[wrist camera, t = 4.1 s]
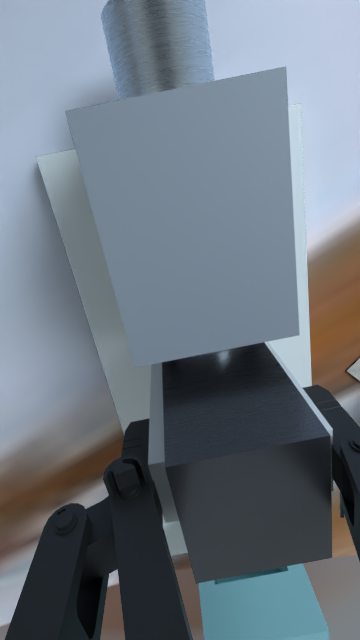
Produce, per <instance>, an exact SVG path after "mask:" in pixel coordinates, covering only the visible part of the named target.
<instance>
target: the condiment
mask: <svg viewBox="0 0 360 640" xmlns="http://www.w3.org/2000/svg"><path fill="white" fill-rule="evenodd" d="M347 372H349V373H350V374H351V375H353V376H354V377H355V378H356V379H358V380H359V381H360V358H359V360H358V361H356V362H355V363H354V364H353V365H352V366H351V367H350V368H349V369H348V370H347Z"/></svg>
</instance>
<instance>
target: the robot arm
mask: <svg viewBox="0 0 360 640" xmlns="http://www.w3.org/2000/svg"><path fill="white" fill-rule="evenodd" d="M264 343H265V344H266V345H267V347H268V348H269V350H270V351H271V352H272V354H273V355H274V357H275V358H276V359H277V361H278V362H279V364H280V365H281V366H282V368H283V369H284V371H285V372H286V374H287V375H288V376H289V378H290V379H291V381H292V382H293V383H294V385H295V386H296V388H297V389H298V390H299V392H300V393H301V395H302V396H303V397H304V399H305V400H306V402H307V403H308V404H309V406H310V407H311V409H312V410H313V411H314V413H315V414H316V416H317V417H318V418H319V420H320V421H321V423H322V424H323V426H324V427H325V428H326V430H327V431H328V433H329V434H330V435H331V491H333V479H334V481H335V483H336V484H337V486H338V488H339V489H340V517H343V518H344V514H345V517H346V520H347V523H348V526H349V530H350V533H351V536H352V539H353V542H354V545H355V548H356V551H357V554H358V557H359V560H360V427H359V426H358V425H357V424H356V423H355V421H354V420H353V419H352V418H351V417H350V416H349V414H348V413H347V412H346V411H345V410H344V409H343V407H341V405H340V404H339V403H338V402H337V400H335V398H334V397H333V396H332V395H331V393H330V392H329V391H328V390H326V389H324V388H322V387H321V386H319V385H314V386H309V387H304V388H302V387H301V385H300V384H299V383H298V381H297V380H296V379H295V377H294V376H293V375H292V373H291V372H290V371H289V369H288V368H287V367H286V365H285V364H284V362H283V361H282V360H281V358H280V357H279V356H278V354H277V353H276V352H275V350H274V349H273V348H272V346H271V345H270V344H269V342H264ZM103 480H104V483H105V485H106V488H107V491H108V493H109V496H108V497H107V498H106V499H104V500H103V501H101V502H99V503H97V504H95V505H93V506H91V507H89V508H87V509H85V508H84V506H82V505H80V504H78V503H71V504H68V505H65V506H63V507H61V508H60V509H58V510H57V511H55V512H54V513H53V514H52V516H51V517H50V518H49V519H48V521H47V523H46V525H45V526H44V529H43V532H42V535H41V538H40V541H39V543H38V546H37V549H36V552H35V555H34V558H33V561H32V563H31V566H30V569H29V572H28V575H27V578H26V581H25V583H24V586H23V589H22V592H21V595H20V598H19V600H18V603H17V606H16V609H15V612H14V615H13V618H12V620H11V623H10V626H9V629H8V632H7V635H6V638H5V640H100V635H101V628H102V620H103V614H104V606H105V599H106V592H107V585H108V578H109V573H111V572H113V571H115V570H116V569H118V575H119V584H120V594H121V603H122V611H123V621H124V630H125V640H193V638H192V635H191V631H190V627H189V623H188V619H187V615H186V612H185V608H184V604H183V600H182V596H181V593H180V589H179V586H178V581H177V577H176V574H175V570H174V566H173V562H172V558H171V555H170V551H169V547H168V543H167V540H166V536H165V532H164V529H163V518H164V521H165V523H169V522H174V521H179V518H178V514H177V511H176V507H175V503H174V499H173V496H172V492H171V488H170V485H169V481H168V477H167V474H166V470H165V454H164V418H163V383H162V362H161V363H156V364H151V389H150V418H149V419H144V420H139V421H134V422H130V424H129V426H128V427H127V429H126V430H125V434H124V443H123V451H122V456H121V458H119V459H117V460H115V461H113V462H112V463H111V464H110V465H109V466H108V467H107V469H106V471H105V472H104V478H103Z"/></svg>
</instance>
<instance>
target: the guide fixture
mask: <svg viewBox="0 0 360 640" xmlns="http://www.w3.org/2000/svg"><path fill="white" fill-rule="evenodd" d="M65 113H66V117H67V120H68V124H69V128H70V131H71V135H72V139H73V142H74V146H75V149H71V150H66V151H61V152H56V153H52V154H47V155H42V156H37V157H36V159H37V162H38V165H39V169H40V172H41V175H42V178H43V181H44V184H45V187H46V191H47V194H48V197H49V200H50V203H51V206H52V210H53V213H54V216H55V219H56V222H57V225H58V228H59V232H60V235H61V238H62V241H63V244H64V247H65V251H66V254H67V257H68V260H69V263H70V266H71V269H72V273H73V276H74V279H75V282H76V285H77V288H78V291H79V295H80V298H81V301H82V304H83V307H84V310H85V314H86V317H87V320H88V323H89V326H90V329H91V332H92V336H93V339H94V342H95V345H96V348H97V351H98V355H99V358H100V361H101V364H102V367H103V370H104V373H105V377H106V380H107V383H108V386H109V389H110V392H111V396H112V399H113V402H114V405H115V408H116V411H117V414H118V418H119V421H120V424H121V427H122V430H123V433H124V434H125V430H126V429H127V427H128V426H129V424H130V422H134V421H139V420H144V419H149V418H150V389H151V364H156V363H161V362H166V361H171V360H176V359H181V358H186V357H191V356H196V355H202V354H207V353H212V352H217V351H222V350H227V349H232V348H237V347H242V346H247V345H252V344H258V343H263V342H269V344H270V345H271V346H272V348H273V349H274V350H275V352H276V353H277V354H278V356H279V357H280V358H281V360H282V361H283V362H284V364H285V365H286V367H287V368H288V369H289V371H290V372H291V373H292V375H293V376H294V377H295V379H296V380H297V381H298V383H299V384H300V385H301V387H302V388H304V387H309V386H312V382H311V356H310V329H309V302H308V275H307V249H306V222H305V195H304V168H303V141H302V115H301V103H299V104H294V105H289V106H288V95H287V76H286V67H281V68H276V69H271V70H266V71H261V72H256V73H251V74H246V75H241V76H237V77H232V78H227V79H222V80H217V81H212V82H207V83H202V84H197V85H192V86H187V87H182V88H177V89H172V90H167V91H163V92H158V93H153V94H148V95H143V96H138V97H133V98H128V99H123V100H118V101H113V102H108V103H103V104H98V105H93V106H89V107H84V108H79V109H74V110H69V111H65ZM163 529H164V532H165V536H166V540H167V543H168V547H169V551H170V555H171V556H173V555H179V554H184V553H188V551H187V548H186V544H185V540H184V537H183V533H182V529H181V525H180V522H179V521H174V522H169V523H165V521H164V518H163ZM198 584H199V593H200V602H201V611H202V621H203V631H204V640H329V629H328V627H327V624H326V622H325V619H324V616H323V614H322V611H321V609H320V606H319V604H318V601H317V599H316V596H315V594H314V591H313V589H312V586H311V583H310V581H309V578H308V576H307V574H306V570H305V568H304V566H303V563H301V564H296V565H291V566H286V567H280V568H275V569H270V570H265V571H260V572H254V573H249V574H244V575H239V576H233V577H228V578H223V579H218V580H212V581H207V582H202V583H198Z"/></svg>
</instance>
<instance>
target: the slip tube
mask: <svg viewBox="0 0 360 640" xmlns="http://www.w3.org/2000/svg"><path fill="white" fill-rule="evenodd" d="M101 20H102V25H103V29H104V34H105V39H106V43H107V48H108V52H109V57H110V62H111V66H112V71H113V75H114V80H115V85H116V89H117V94H118V98H119V100H123V99H128V98H133V97H138V96H143V95H148V94H153V93H158V92H163V91H167V90H172V89H177V88H182V87H187V86H192V85H197V84H202V83H207V82H212V81H215V80H214V72H213V64H212V55H211V47H210V39H209V31H208V22H207V14H206V6H205V0H109V1H108V2H107V3H106V5H105V6H104V8H103V10H102V13H101ZM162 383H163V418H164V454H165V470H166V474H167V477H168V481H169V485H170V488H171V492H172V496H173V499H174V503H175V507H176V511H177V514H178V518H179V522H180V525H181V529H182V533H183V537H184V540H185V544H186V548H187V551H188V555H189V559H190V562H191V566H192V570H193V574H194V577H195V581H196V583H202V582H207V581H212V580H218V579H223V578H228V577H233V576H239V575H244V574H249V573H254V572H260V571H265V570H270V569H275V568H280V567H286V566H291V565H296V564H301V563H307V562H312V561H317V560H322V559H328V558H332V515H331V435H330V434H329V433H328V431H327V430H326V428H325V427H324V426H323V424H322V423H321V421H320V420H319V418H318V417H317V416H316V414H315V413H314V411H313V410H312V409H311V407H310V406H309V404H308V403H307V402H306V400H305V399H304V397H303V396H302V395H301V393H300V392H299V390H298V389H297V388H296V386H295V385H294V383H293V382H292V381H291V379H290V378H289V376H288V375H287V374H286V372H285V371H284V369H283V368H282V366H281V365H280V364H279V362H278V361H277V359H276V358H275V357H274V355H273V354H272V352H271V351H270V350H269V348H268V347H267V345H266V344H265V343H264V342H263V343H258V344H252V345H247V346H242V347H237V348H232V349H227V350H222V351H217V352H212V353H207V354H202V355H196V356H191V357H186V358H181V359H176V360H171V361H166V362H162Z"/></svg>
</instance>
